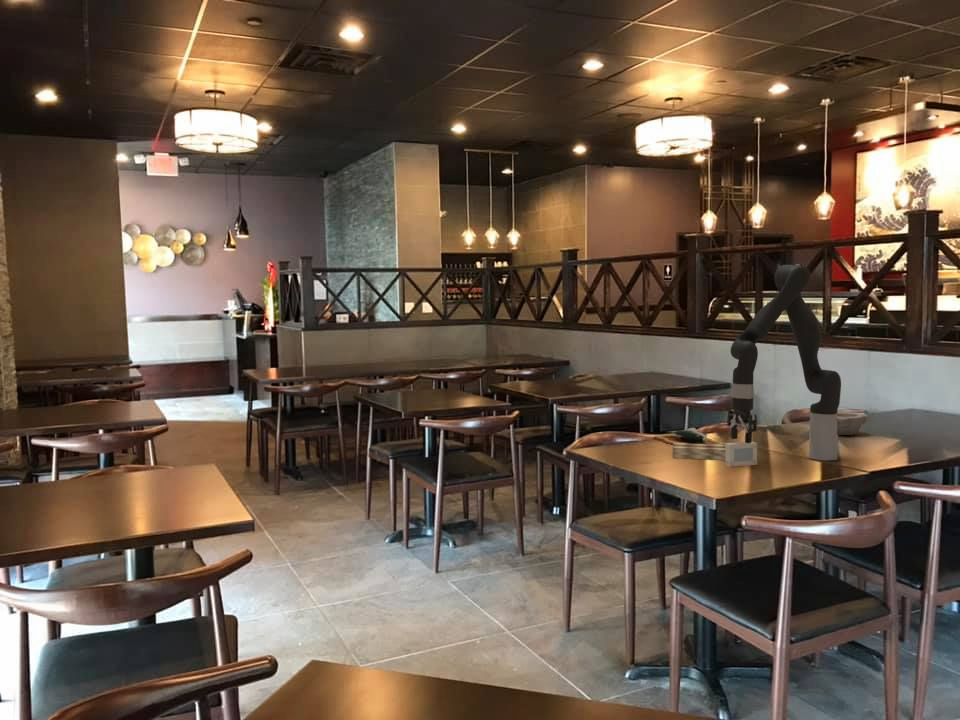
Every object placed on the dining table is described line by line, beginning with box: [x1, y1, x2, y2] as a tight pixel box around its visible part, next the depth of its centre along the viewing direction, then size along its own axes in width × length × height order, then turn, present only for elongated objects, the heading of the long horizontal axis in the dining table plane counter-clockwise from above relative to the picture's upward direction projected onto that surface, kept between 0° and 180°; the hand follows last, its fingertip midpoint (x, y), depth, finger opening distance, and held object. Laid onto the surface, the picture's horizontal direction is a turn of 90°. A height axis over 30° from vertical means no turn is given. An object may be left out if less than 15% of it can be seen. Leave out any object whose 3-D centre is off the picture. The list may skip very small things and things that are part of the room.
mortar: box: [837, 411, 870, 436], centre depth 329 cm, size 17×17×9 cm
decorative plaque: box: [652, 427, 726, 446], centre depth 312 cm, size 30×7×20 cm
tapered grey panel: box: [724, 441, 758, 467], centre depth 270 cm, size 11×3×8 cm, turn 105°
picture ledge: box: [672, 443, 725, 461], centre depth 283 cm, size 28×10×4 cm, turn 75°
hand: (741, 440), depth 270 cm, fingers open, 8 cm apart
